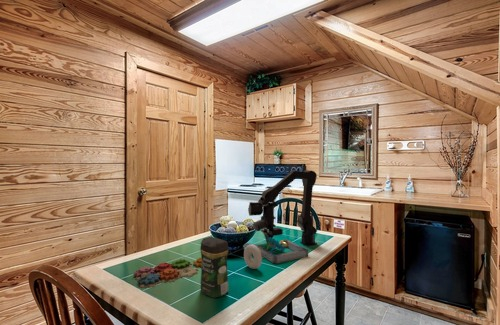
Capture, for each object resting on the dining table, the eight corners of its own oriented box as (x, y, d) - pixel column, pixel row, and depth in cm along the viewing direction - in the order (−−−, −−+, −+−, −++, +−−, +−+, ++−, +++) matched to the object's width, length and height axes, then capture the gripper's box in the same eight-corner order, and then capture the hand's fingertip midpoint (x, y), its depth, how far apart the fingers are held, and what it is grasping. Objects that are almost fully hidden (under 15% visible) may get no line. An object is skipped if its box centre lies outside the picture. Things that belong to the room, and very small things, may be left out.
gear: (289, 249, 127) (276, 237, 125) (283, 260, 125) (269, 247, 122) (277, 246, 137) (264, 234, 134) (270, 256, 134) (257, 244, 132)
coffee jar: (196, 291, 91) (196, 238, 91) (214, 283, 97) (213, 233, 97) (214, 301, 85) (214, 244, 84) (232, 292, 90) (232, 238, 90)
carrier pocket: (288, 246, 137) (288, 240, 137) (308, 256, 124) (308, 249, 124) (256, 252, 128) (256, 246, 128) (274, 263, 115) (274, 257, 115)
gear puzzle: (204, 258, 123) (204, 249, 123) (220, 270, 109) (219, 260, 109) (132, 274, 106) (132, 264, 105) (140, 291, 92) (140, 279, 92)
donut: (263, 270, 108) (263, 246, 107) (257, 273, 105) (257, 248, 105) (248, 263, 115) (248, 240, 115) (242, 265, 113) (242, 242, 113)
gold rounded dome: (286, 243, 143) (286, 237, 143) (293, 246, 138) (293, 240, 138) (277, 244, 140) (277, 239, 140) (284, 248, 135) (284, 242, 135)
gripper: (246, 212, 141) (246, 241, 142) (264, 220, 125) (263, 252, 125) (264, 210, 146) (264, 238, 147) (283, 217, 130) (283, 249, 130)
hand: (268, 244), depth 137 cm, fingers closed
